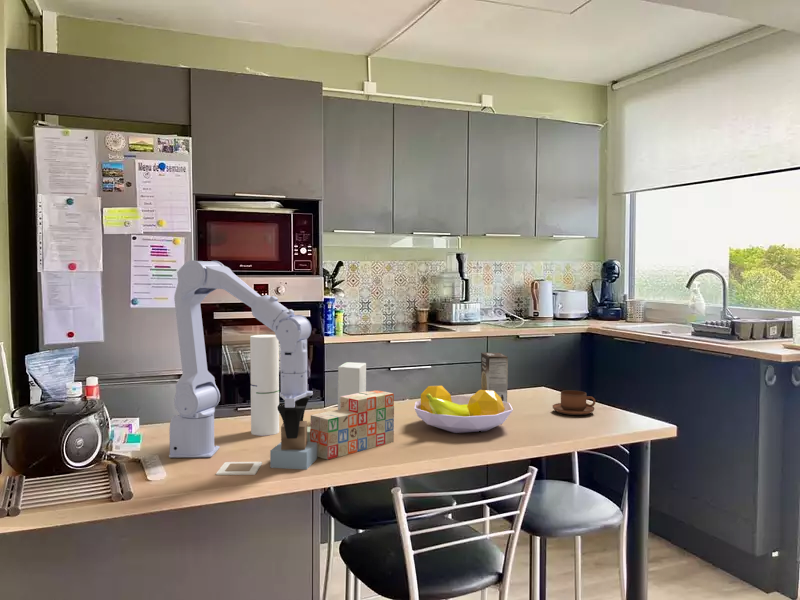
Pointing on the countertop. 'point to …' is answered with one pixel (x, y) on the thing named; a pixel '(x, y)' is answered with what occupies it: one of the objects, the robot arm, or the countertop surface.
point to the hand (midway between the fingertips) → (294, 433)
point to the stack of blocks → (354, 424)
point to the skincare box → (351, 379)
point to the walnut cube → (297, 442)
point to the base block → (293, 457)
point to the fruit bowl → (462, 410)
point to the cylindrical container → (264, 384)
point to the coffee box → (494, 373)
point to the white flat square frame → (239, 468)
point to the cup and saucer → (574, 403)
